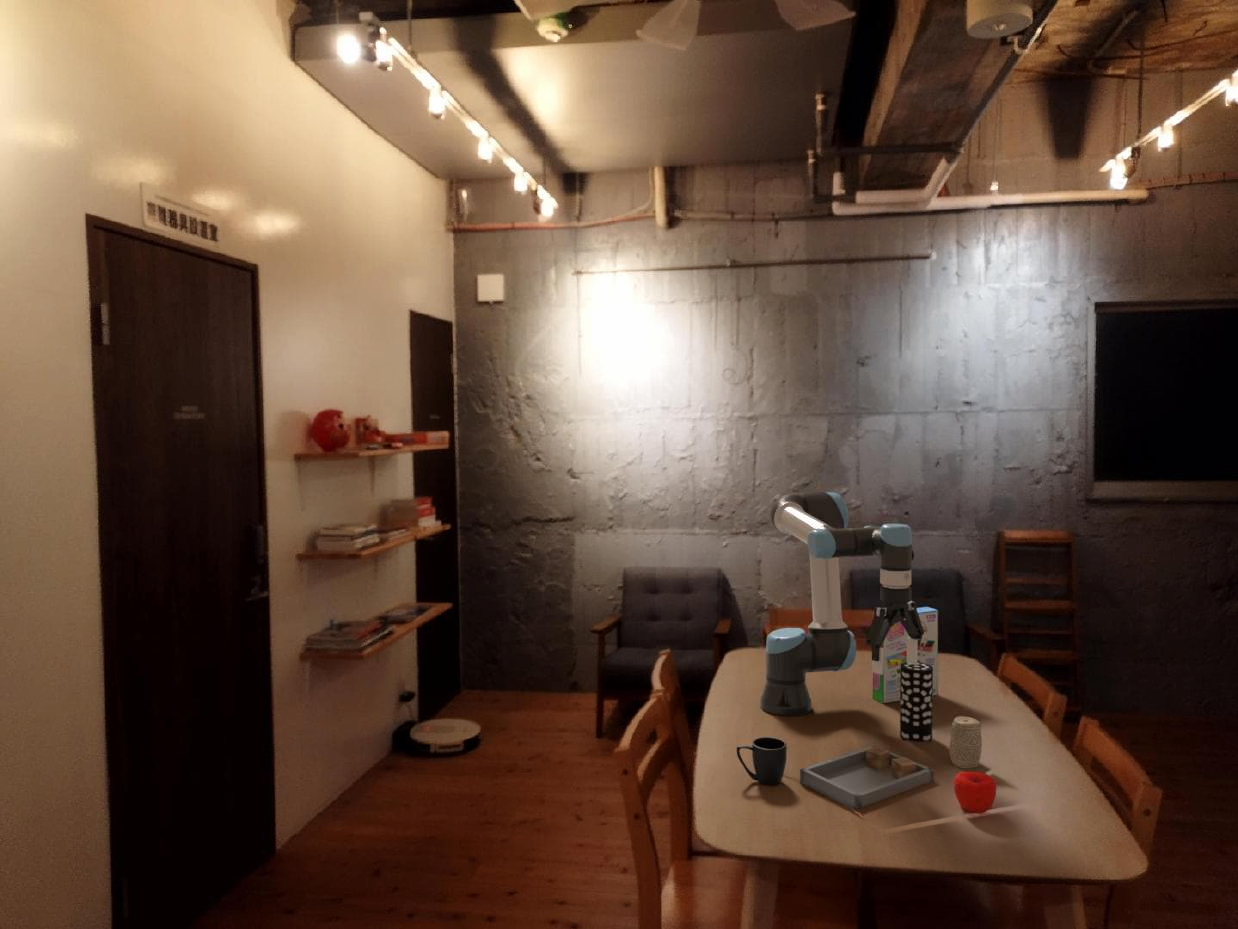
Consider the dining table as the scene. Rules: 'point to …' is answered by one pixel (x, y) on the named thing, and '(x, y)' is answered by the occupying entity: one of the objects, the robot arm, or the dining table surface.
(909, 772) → the walnut block
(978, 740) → the carving
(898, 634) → the game box
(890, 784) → the tray
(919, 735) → the spotted tube
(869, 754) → the walnut block
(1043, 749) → the dining table surface
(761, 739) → the mug
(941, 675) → the dining table surface
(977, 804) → the apple
